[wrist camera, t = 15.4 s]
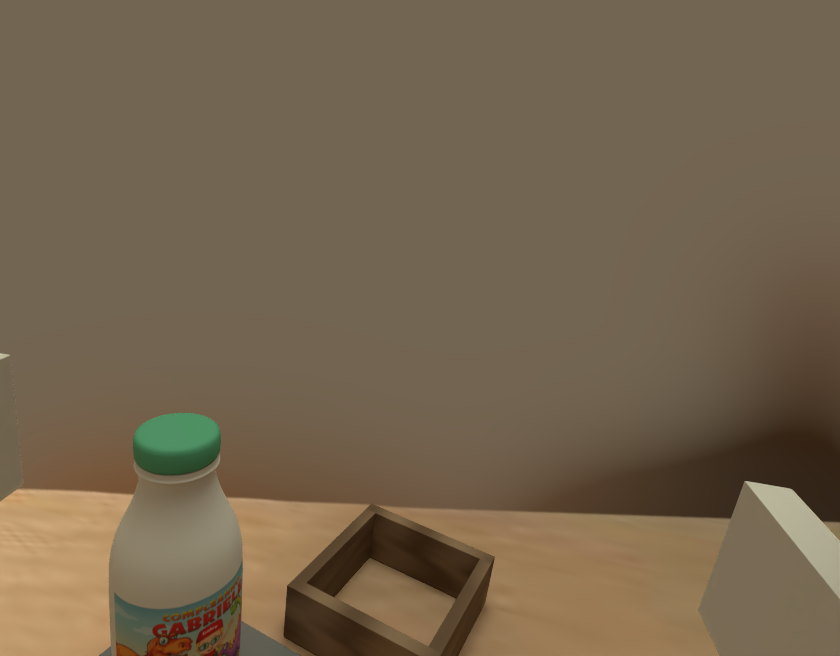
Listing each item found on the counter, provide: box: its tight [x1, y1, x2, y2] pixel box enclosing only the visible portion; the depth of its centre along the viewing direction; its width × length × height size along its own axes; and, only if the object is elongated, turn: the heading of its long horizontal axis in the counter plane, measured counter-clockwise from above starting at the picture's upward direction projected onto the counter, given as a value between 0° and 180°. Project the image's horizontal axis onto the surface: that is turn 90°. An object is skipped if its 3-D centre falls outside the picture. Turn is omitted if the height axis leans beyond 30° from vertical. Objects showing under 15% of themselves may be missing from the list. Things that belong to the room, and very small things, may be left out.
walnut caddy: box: [284, 504, 495, 656], centre depth 46 cm, size 12×12×5 cm
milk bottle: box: [109, 413, 243, 656], centre depth 35 cm, size 8×8×20 cm
